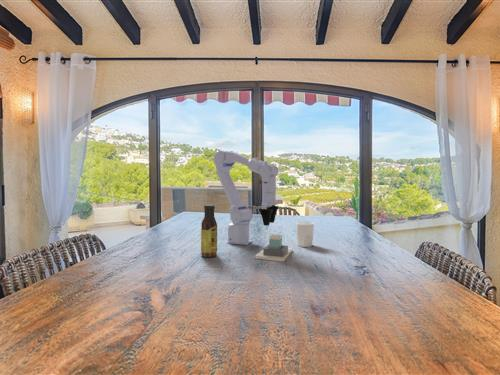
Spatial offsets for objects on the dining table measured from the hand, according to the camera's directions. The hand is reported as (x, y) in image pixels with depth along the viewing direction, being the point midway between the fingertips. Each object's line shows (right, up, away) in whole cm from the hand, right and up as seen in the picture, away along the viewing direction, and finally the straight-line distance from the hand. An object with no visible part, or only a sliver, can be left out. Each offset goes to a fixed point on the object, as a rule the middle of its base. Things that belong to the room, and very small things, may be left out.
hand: (269, 223), depth 131 cm
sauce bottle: (-24, -11, -12) cm, 29 cm away
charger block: (+2, -10, -12) cm, 16 cm away
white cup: (+16, -10, +5) cm, 20 cm away
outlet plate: (+2, -11, -9) cm, 15 cm away
